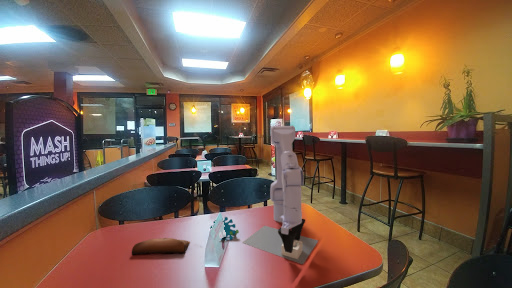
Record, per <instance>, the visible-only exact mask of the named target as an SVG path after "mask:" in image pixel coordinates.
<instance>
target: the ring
mask: <svg viewBox="0 0 512 288" xmlns="http://www.w3.org/2000/svg"><path fill="white" fill-rule="evenodd" d="M295 241H296V248H295V247H293V250H292V253H289V252H285V249H284V245H283V244H282V245H281V254H282V255H285V256H288V257H292V258H295V259H298V258H299V256H300V254H301V252H302V250H303V247H302V242H301V241H297V240H295Z"/></svg>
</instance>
